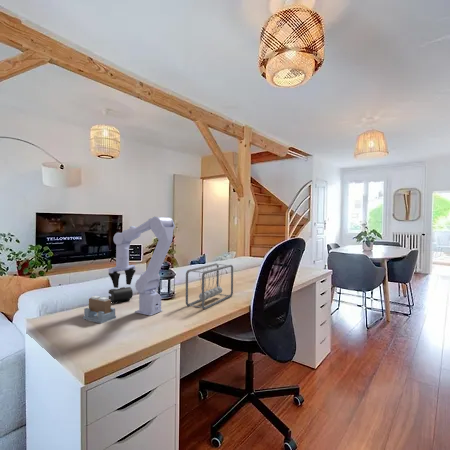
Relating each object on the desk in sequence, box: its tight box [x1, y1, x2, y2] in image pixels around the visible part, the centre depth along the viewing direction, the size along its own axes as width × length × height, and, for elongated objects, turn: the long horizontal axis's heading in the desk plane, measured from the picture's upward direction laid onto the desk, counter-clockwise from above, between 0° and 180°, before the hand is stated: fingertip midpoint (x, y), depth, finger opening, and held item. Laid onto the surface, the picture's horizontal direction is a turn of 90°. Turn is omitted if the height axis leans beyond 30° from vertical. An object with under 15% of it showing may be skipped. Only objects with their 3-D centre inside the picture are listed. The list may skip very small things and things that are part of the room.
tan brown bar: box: [88, 295, 112, 314], centre depth 117 cm, size 10×3×6 cm, turn 62°
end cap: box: [108, 286, 134, 304], centre depth 143 cm, size 10×7×7 cm
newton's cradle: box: [185, 262, 234, 310], centre depth 145 cm, size 30×10×18 cm, turn 151°
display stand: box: [82, 307, 117, 324], centre depth 117 cm, size 11×8×4 cm
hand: (122, 285), depth 134 cm, fingers open, 7 cm apart
